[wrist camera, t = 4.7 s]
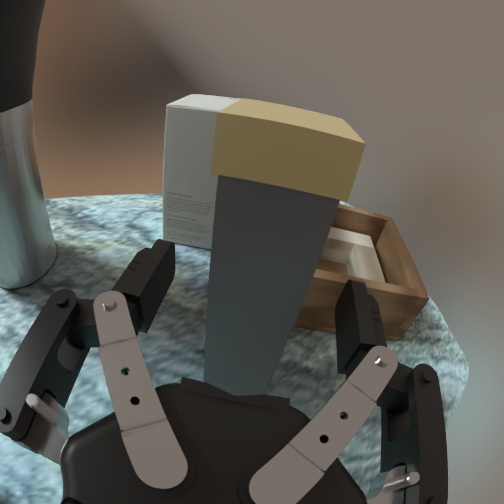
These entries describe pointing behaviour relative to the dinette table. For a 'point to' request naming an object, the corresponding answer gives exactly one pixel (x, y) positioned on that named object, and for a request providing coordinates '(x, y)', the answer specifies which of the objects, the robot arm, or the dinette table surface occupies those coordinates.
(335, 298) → the walnut box
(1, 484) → the dinette table surface
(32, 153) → the robot arm
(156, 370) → the dinette table surface
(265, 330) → the grey plug
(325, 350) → the dinette table surface
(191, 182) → the skincare box
